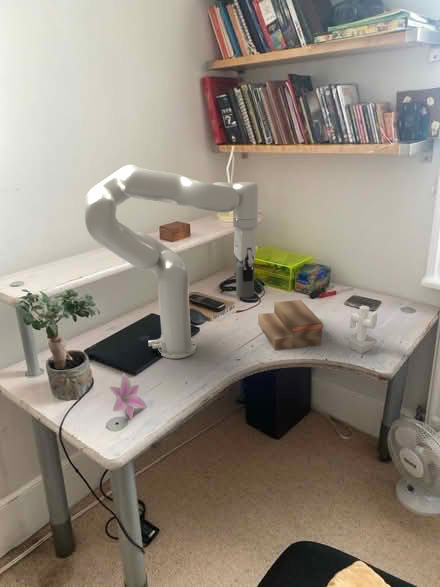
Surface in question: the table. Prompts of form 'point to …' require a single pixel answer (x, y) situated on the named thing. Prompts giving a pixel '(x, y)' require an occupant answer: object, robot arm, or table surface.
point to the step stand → (291, 325)
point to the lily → (127, 397)
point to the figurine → (362, 330)
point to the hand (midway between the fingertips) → (245, 277)
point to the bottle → (243, 287)
